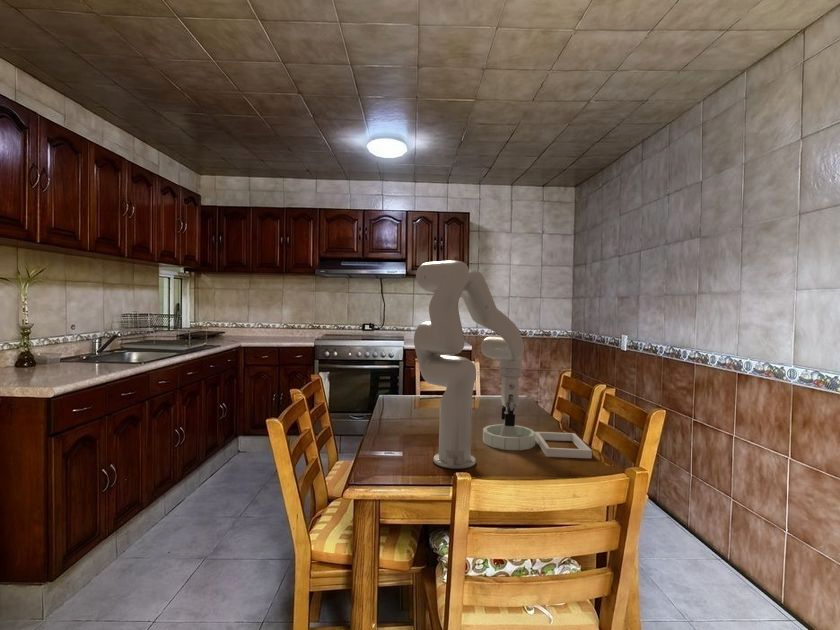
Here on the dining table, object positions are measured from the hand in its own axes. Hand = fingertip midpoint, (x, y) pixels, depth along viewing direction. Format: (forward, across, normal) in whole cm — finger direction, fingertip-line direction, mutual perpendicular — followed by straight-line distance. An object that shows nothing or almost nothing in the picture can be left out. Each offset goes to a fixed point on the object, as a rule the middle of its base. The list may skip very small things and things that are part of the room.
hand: (507, 422), depth 160 cm
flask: (+7, +1, -1) cm, 7 cm away
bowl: (+7, +1, -1) cm, 7 cm away
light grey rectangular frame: (+7, -3, -18) cm, 19 cm away
